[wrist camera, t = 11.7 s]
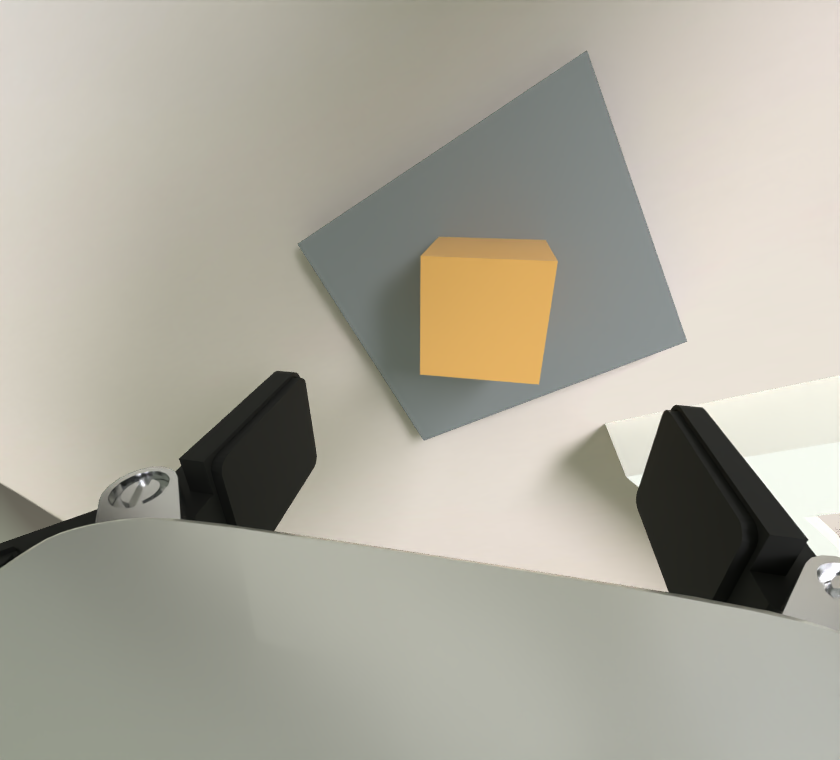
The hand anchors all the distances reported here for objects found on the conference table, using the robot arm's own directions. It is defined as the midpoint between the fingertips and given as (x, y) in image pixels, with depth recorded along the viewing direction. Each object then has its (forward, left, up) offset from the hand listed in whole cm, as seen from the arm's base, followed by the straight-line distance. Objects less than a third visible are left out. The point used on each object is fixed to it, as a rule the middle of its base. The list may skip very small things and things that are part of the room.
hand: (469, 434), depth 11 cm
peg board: (0, 0, -17) cm, 17 cm away
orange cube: (0, 0, -16) cm, 16 cm away
